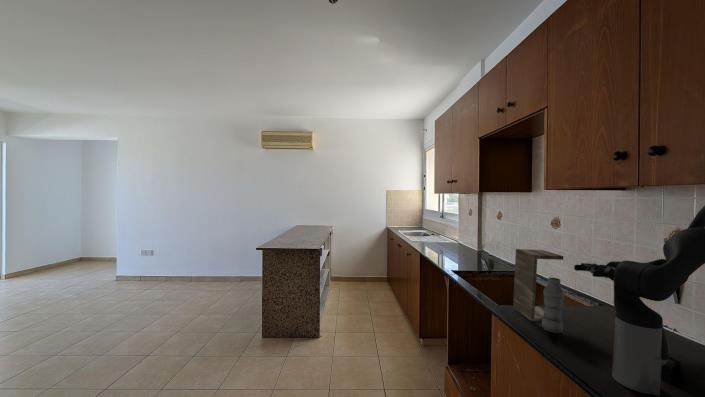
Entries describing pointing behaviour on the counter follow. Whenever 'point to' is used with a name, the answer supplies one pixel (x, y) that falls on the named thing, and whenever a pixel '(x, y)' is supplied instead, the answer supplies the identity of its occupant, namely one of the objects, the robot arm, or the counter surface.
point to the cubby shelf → (528, 282)
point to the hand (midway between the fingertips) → (583, 270)
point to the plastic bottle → (553, 306)
